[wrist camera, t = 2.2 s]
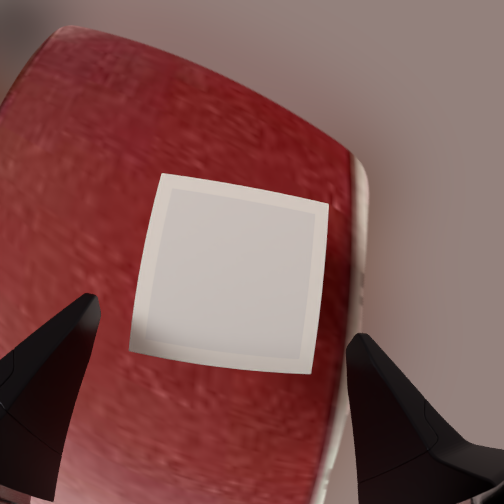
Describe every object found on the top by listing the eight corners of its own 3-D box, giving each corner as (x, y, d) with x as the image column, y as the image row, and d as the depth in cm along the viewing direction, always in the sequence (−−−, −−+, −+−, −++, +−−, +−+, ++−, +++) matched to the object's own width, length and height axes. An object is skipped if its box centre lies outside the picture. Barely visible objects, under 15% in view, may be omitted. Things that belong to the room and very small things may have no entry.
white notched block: (259, 340, 18) (310, 373, 9) (167, 326, 17) (128, 350, 8) (270, 250, 19) (328, 203, 10) (181, 236, 18) (161, 173, 9)
